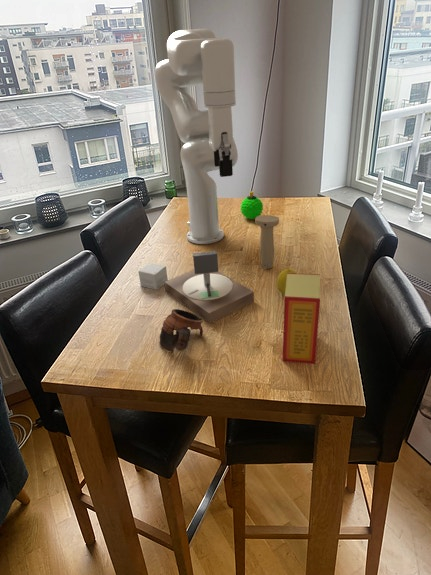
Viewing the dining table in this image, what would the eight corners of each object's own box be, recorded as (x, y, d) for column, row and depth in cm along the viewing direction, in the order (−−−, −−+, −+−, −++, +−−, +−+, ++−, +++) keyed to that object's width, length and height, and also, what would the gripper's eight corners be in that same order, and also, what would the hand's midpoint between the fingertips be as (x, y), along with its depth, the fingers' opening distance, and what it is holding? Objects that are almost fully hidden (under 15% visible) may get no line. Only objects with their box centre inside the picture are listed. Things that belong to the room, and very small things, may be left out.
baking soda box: (285, 333, 95) (287, 271, 87) (314, 335, 94) (319, 272, 86) (282, 361, 87) (284, 295, 79) (314, 363, 86) (320, 297, 78)
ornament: (257, 224, 150) (256, 196, 145) (237, 220, 154) (236, 194, 149) (266, 216, 156) (266, 189, 151) (246, 213, 160) (246, 187, 154)
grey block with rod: (197, 298, 103) (194, 266, 99) (195, 284, 109) (192, 253, 105) (221, 295, 104) (219, 263, 99) (218, 282, 110) (216, 251, 105)
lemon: (285, 304, 105) (286, 276, 101) (272, 294, 109) (272, 267, 105) (303, 298, 107) (304, 270, 103) (289, 288, 112) (290, 261, 107)
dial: (173, 286, 110) (172, 284, 110) (212, 269, 117) (212, 268, 117) (202, 306, 101) (202, 304, 101) (243, 287, 108) (243, 285, 108)
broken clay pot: (154, 336, 98) (164, 303, 97) (191, 345, 101) (202, 314, 100) (160, 357, 87) (172, 320, 86) (202, 367, 90) (215, 331, 88)
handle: (276, 272, 119) (277, 222, 112) (254, 270, 121) (253, 221, 114) (279, 264, 123) (280, 216, 116) (257, 262, 125) (257, 214, 117)
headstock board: (165, 291, 114) (164, 281, 113) (207, 273, 121) (206, 264, 120) (210, 323, 100) (209, 313, 99) (254, 301, 107) (253, 291, 106)
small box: (168, 280, 119) (166, 265, 117) (157, 290, 115) (154, 274, 112) (151, 277, 122) (149, 261, 119) (140, 286, 117) (137, 271, 115)
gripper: (200, 96, 108) (205, 163, 116) (208, 105, 93) (213, 182, 102) (229, 93, 108) (232, 161, 117) (242, 102, 93) (243, 178, 102)
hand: (223, 170), depth 109 cm, fingers open, 9 cm apart
